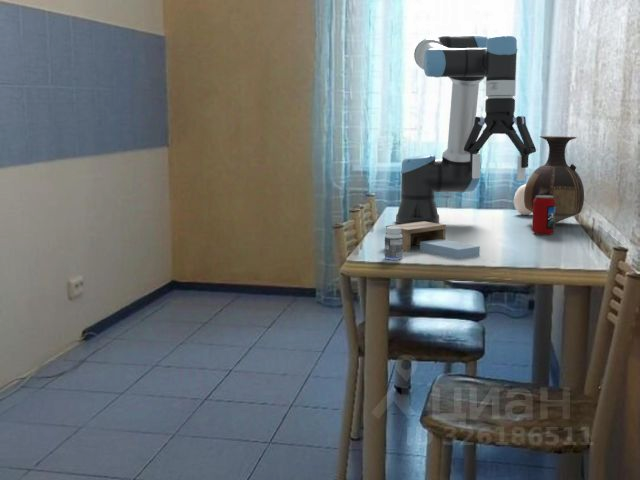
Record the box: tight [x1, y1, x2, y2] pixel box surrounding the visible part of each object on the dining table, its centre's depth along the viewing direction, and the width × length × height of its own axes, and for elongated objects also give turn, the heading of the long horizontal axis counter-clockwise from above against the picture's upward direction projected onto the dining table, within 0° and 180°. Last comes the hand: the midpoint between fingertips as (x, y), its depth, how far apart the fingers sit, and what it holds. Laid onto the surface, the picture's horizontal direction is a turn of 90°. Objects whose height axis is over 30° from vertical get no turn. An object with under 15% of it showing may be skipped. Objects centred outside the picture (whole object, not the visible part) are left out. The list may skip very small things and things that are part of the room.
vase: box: [524, 135, 585, 224], centre depth 256 cm, size 23×19×30 cm
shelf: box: [385, 221, 447, 253], centre depth 218 cm, size 9×15×6 cm, turn 127°
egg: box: [513, 183, 533, 216], centre depth 282 cm, size 9×9×11 cm
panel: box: [419, 239, 481, 260], centre depth 208 cm, size 15×8×3 cm, turn 35°
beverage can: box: [531, 195, 556, 236], centre depth 239 cm, size 7×7×12 cm
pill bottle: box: [384, 225, 403, 261], centre depth 201 cm, size 5×5×8 cm
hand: (497, 179), depth 200 cm, fingers open, 13 cm apart
